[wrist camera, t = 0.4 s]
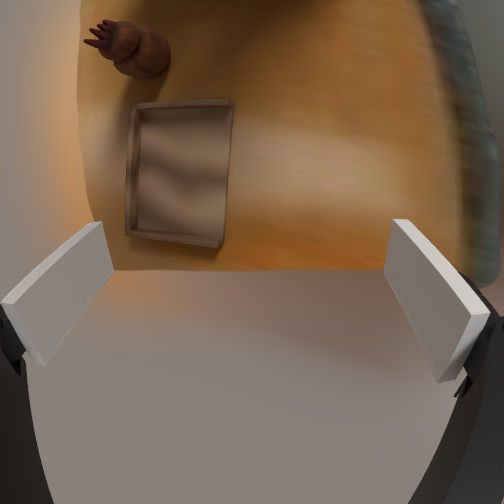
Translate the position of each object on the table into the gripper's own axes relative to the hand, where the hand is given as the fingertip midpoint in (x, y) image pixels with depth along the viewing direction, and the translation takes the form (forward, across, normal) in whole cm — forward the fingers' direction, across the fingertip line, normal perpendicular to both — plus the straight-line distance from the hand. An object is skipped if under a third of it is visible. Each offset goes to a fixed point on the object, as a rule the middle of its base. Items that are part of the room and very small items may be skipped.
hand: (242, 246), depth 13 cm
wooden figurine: (+29, -14, +14) cm, 35 cm away
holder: (+25, -10, -2) cm, 27 cm away
